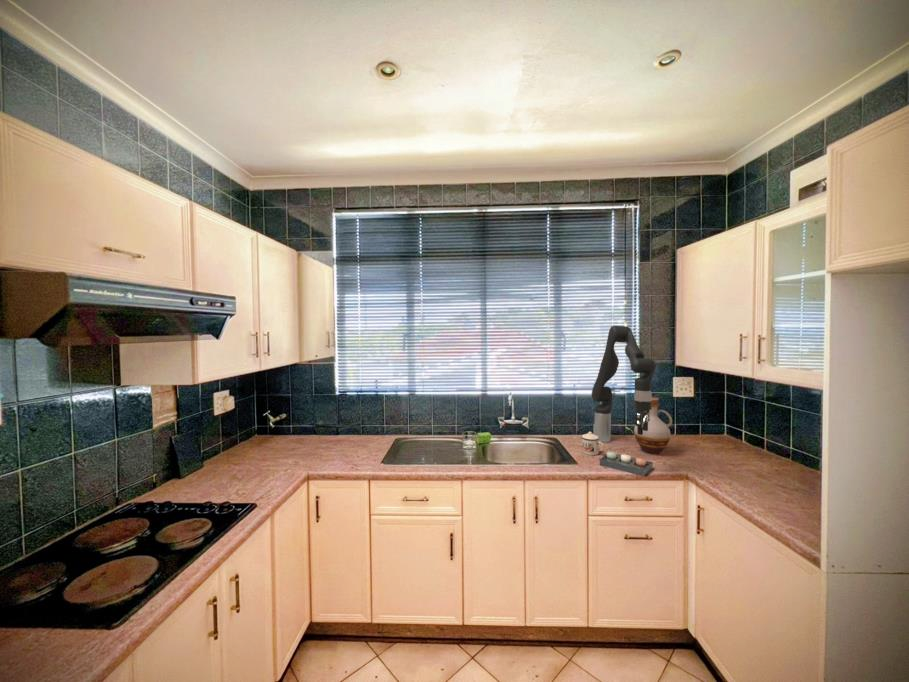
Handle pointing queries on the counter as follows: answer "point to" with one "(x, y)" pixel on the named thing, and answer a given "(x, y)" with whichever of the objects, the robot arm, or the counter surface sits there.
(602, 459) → the panel
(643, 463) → the orange rounded piece
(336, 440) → the counter surface
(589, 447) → the teacup with lid
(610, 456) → the sage button
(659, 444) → the jug
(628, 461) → the ivory button
